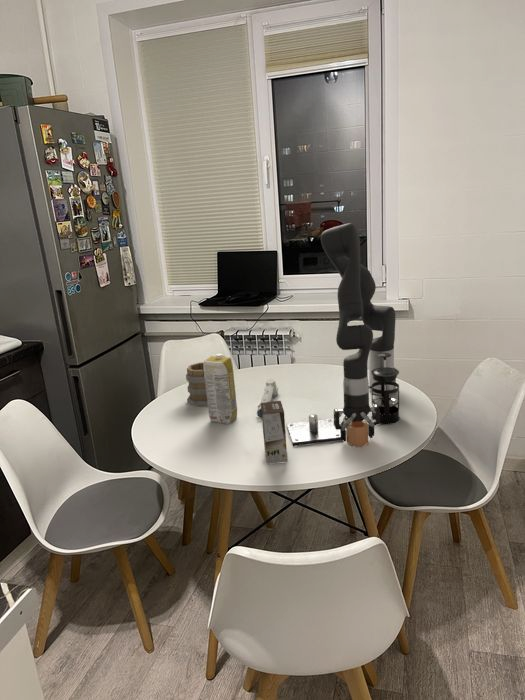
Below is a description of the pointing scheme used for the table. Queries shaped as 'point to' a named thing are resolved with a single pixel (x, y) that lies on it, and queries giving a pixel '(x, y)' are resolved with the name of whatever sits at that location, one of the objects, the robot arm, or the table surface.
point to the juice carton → (220, 389)
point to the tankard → (196, 385)
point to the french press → (385, 393)
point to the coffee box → (274, 432)
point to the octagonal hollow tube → (357, 433)
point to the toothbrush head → (268, 394)
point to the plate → (313, 431)
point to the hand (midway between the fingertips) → (357, 438)
